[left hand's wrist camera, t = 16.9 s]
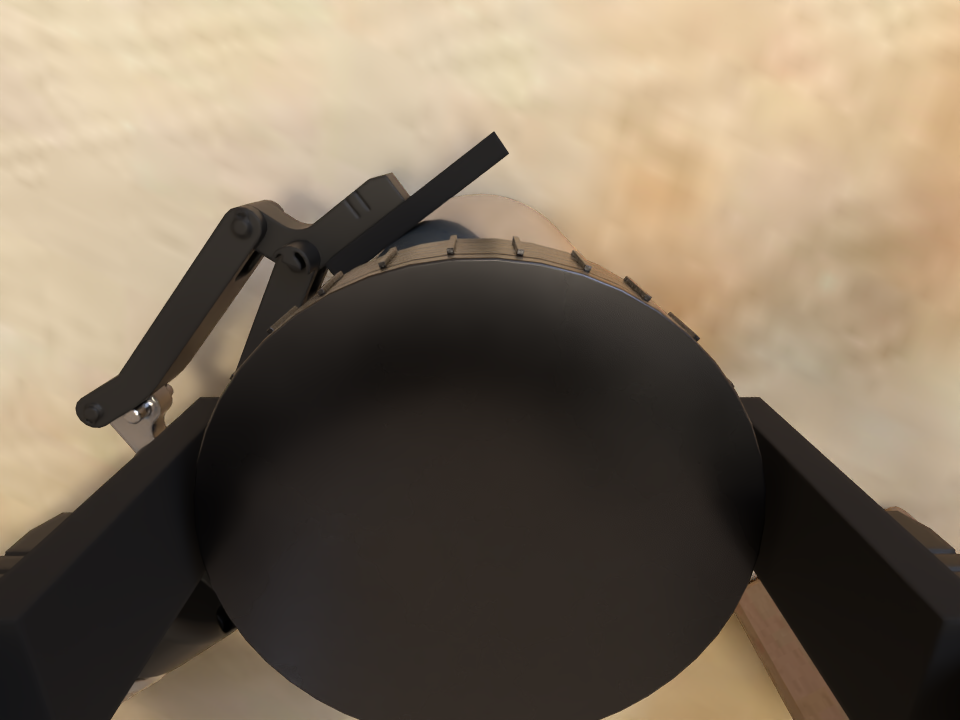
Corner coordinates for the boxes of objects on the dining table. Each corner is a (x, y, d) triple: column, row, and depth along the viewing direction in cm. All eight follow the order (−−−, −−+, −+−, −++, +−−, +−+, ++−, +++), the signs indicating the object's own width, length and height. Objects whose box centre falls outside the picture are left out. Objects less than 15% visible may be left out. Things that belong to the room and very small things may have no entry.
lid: (389, 719, 15) (376, 803, 13) (129, 381, 12) (61, 427, 10) (787, 568, 13) (839, 639, 11) (610, 128, 10) (641, 124, 8)
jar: (335, 299, 27) (130, 518, 11) (480, 146, 25) (480, 148, 9) (479, 429, 29) (478, 765, 13) (624, 299, 27) (828, 520, 11)
